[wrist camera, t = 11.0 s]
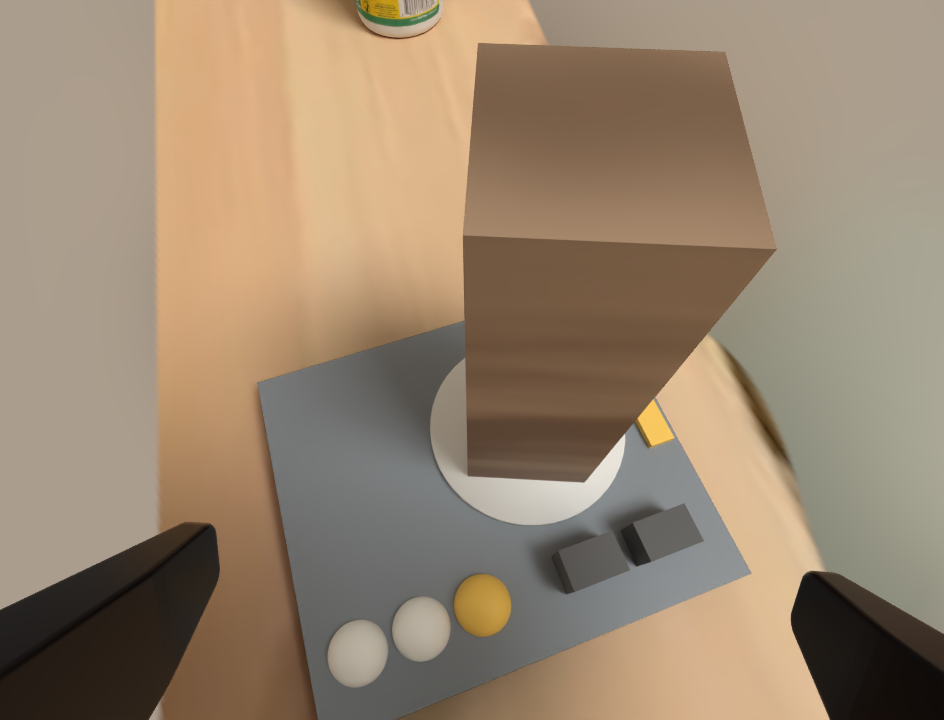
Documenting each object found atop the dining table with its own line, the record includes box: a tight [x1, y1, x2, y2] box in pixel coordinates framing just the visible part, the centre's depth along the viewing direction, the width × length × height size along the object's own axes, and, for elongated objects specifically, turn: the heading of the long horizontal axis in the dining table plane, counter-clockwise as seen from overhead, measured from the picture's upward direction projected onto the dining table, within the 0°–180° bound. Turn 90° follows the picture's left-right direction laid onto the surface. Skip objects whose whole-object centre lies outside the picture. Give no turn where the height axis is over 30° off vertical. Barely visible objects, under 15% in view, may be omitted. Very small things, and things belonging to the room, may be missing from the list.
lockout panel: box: [257, 321, 751, 720], centre depth 18 cm, size 12×14×3 cm
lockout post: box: [463, 43, 776, 483], centre depth 13 cm, size 4×4×12 cm
